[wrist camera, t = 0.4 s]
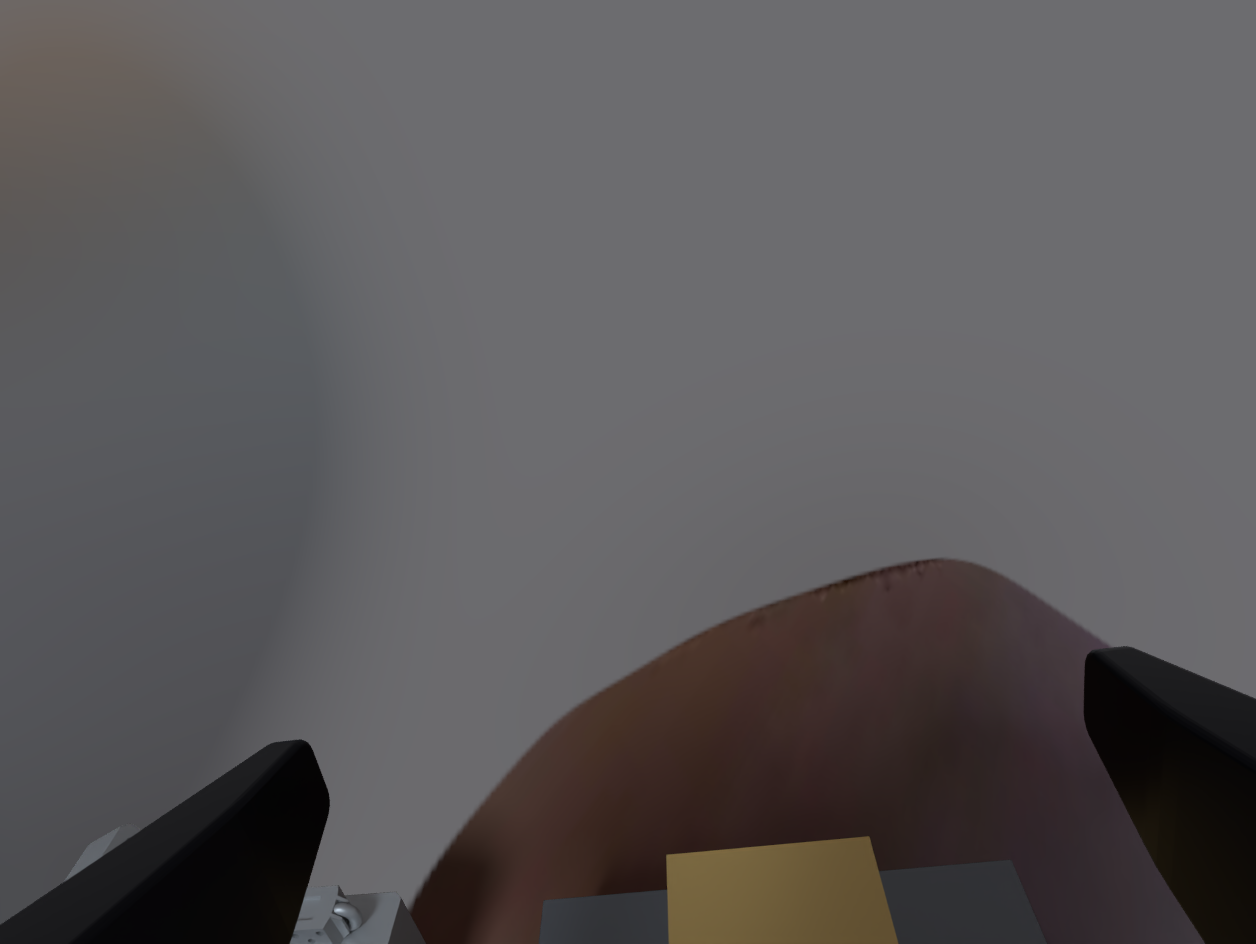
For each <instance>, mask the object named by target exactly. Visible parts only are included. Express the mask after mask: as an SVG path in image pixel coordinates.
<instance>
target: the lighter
mask: <svg viewBox="0 0 1256 944" xmlns="http://www.w3.org/2000/svg"><path fill="white" fill-rule="evenodd" d="M139 831H141V829H139V828H138V827H136V826H134V825H133V824H128V825H123V826H120V827H119V828H117V829H115V830H114V831H112V832H110V833H108V834H106V835H105V836H103V837H101V838H100V839H98V840H96V841H94V842H93V843H91V844H89V845H88V847H87V849H86V850H85V851H84V853H83V854H82V856H81V857H80V859H79V860H78V862H77V863H76V865H75V866H74V868H73V869H72V871H71V872H70V874H69V875H68V876H67V878H66V879H65V881H66V880H68V879H69V878H71V877H72V876H74V875H75V874H77V873H78V872H80V871H81V870H83V869H84V868H86V867H87V866H89V865H90V864H92V863H93V862H95V861H96V860H98V859H99V858H100V857H102V856H103V855H105V854H106V853H108V852H109V851H111V850H112V849H114V848H115V847H117V846H118V845H120V844H121V843H123V842H124V841H126V840H127V839H129V838H130V837H132V836H133V835H135V834H136V833H138V832H139ZM65 881H64V882H65ZM290 944H426V943H425V941H424V939H423V937H422V935H421V933H420V932H419V930H418V928H417V926H416V924H415V922H414V921H413V919H412V917H411V915H410V913H409V911H408V910H407V908H406V906H405V904H404V902H403V901H402V899H401V897H400V896H399V895H398V893H397V892H387V893H374V894H361V895H347V896H345V895H344V894H343V892H342V890H341V889H340V887H339V886H338V885H337V886H324V887H311V888H307V890H306V893H305V897H304V900H303V904H302V907H301V911H300V914H299V917H298V920H297V924H296V927H295V930H294V933H293V936H292V939H291V942H290Z"/></svg>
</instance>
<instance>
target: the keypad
mask: <svg viewBox="0 0 1256 944" xmlns="http://www.w3.org/2000/svg"><path fill="white" fill-rule="evenodd" d="M879 874H880V878H881V881H882V885H883V889H884V892H885V896H886V900H887V903H888V907H889V911H890V914H891V918H892V922H893V926H894V929H895V933H896V937H897V940H898V944H1047V942H1046V940H1045V937H1044V935H1043V933H1042V930H1041V928H1040V926H1039V923H1038V921H1037V919H1036V916H1035V914H1034V912H1033V909H1032V907H1031V905H1030V902H1029V900H1028V898H1027V895H1026V893H1025V891H1024V888H1023V886H1022V884H1021V881H1020V879H1019V877H1018V874H1017V872H1016V870H1015V868H1014V865H1013V863H1012V861H1011V860H1001V861H990V862H978V863H967V864H956V865H944V866H933V867H921V868H910V869H898V870H887V871H879ZM539 944H669V932H668V896H667V890H657V891H646V892H634V893H623V894H611V895H600V896H588V897H577V898H565V899H554V900H544V902H543V911H542V920H541V929H540V938H539Z"/></svg>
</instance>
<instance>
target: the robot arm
mask: <svg viewBox="0 0 1256 944" xmlns="http://www.w3.org/2000/svg"><path fill="white" fill-rule="evenodd" d="M1084 720H1085V724H1086V728H1087V731H1088V734H1089V736H1090V738H1091V740H1092V742H1093V744H1094V746H1095V748H1096V750H1097V752H1098V754H1099V756H1100V758H1101V760H1102V762H1103V764H1104V766H1105V768H1106V770H1107V772H1108V774H1109V776H1110V778H1111V780H1112V782H1113V784H1114V786H1115V788H1116V790H1117V792H1118V794H1119V795H1120V797H1121V799H1122V801H1123V803H1124V805H1125V807H1126V809H1127V811H1128V813H1129V815H1130V817H1131V819H1132V821H1133V823H1134V825H1135V827H1136V829H1137V831H1138V833H1139V835H1140V837H1141V839H1142V841H1143V843H1144V845H1145V847H1146V848H1147V850H1148V852H1149V854H1150V856H1151V858H1152V860H1153V861H1154V863H1155V865H1156V867H1157V868H1158V870H1159V872H1160V873H1161V875H1162V877H1163V878H1164V880H1165V881H1166V883H1167V885H1168V886H1169V888H1170V890H1171V891H1172V893H1173V894H1174V896H1175V897H1176V899H1177V900H1178V902H1179V904H1180V905H1181V907H1182V908H1183V910H1184V911H1185V913H1186V914H1187V916H1188V917H1189V919H1190V921H1191V922H1192V924H1193V925H1194V927H1195V928H1196V930H1197V931H1198V933H1199V934H1200V936H1201V938H1202V939H1203V941H1204V942H1205V944H1256V699H1255V698H1253V697H1250V696H1248V695H1245V694H1243V693H1240V692H1238V691H1236V690H1233V689H1231V688H1229V687H1226V686H1224V685H1221V684H1219V683H1217V682H1214V681H1212V680H1209V679H1207V678H1204V677H1202V676H1200V675H1197V674H1195V673H1193V672H1190V671H1188V670H1185V669H1183V668H1180V667H1178V666H1176V665H1173V664H1171V663H1168V662H1166V661H1164V660H1161V659H1159V658H1156V657H1154V656H1152V655H1149V654H1147V653H1145V652H1142V651H1140V650H1137V649H1135V648H1132V647H1127V646H1126V647H1125V646H1123V647H1114V648H1105V649H1097V650H1092V651H1091V652H1090V653H1089V654H1088V655H1087V657H1086V660H1085V676H1084ZM329 807H330V799H329V793H328V789H327V787H326V784H325V782H324V779H323V776H322V774H321V771H320V768H319V765H318V763H317V760H316V758H315V755H314V752H313V750H312V748H311V746H310V745H309V744H308V742H306V741H304V740H292V741H283V742H275V743H271V744H269V745H267V746H266V747H264V748H263V749H261V750H260V751H258V752H257V753H255V754H254V755H252V756H251V757H249V758H248V759H246V760H245V761H244V762H242V763H240V764H239V765H237V767H235V768H233V769H232V770H230V771H229V772H227V773H226V774H224V775H223V776H221V777H220V778H218V779H217V780H215V781H214V782H212V783H211V784H209V785H208V786H206V787H205V788H203V789H202V790H200V791H199V792H197V793H196V794H195V795H193V796H191V797H190V798H189V799H187V800H185V801H184V802H182V803H181V804H179V805H178V806H176V807H175V808H174V809H172V810H170V811H169V812H167V813H166V814H165V815H163V816H162V817H160V818H159V819H157V820H156V821H154V822H153V823H151V824H150V825H148V826H147V827H145V828H144V829H142V830H141V831H139V832H138V833H136V834H135V835H133V836H132V837H130V838H129V839H127V840H126V841H124V842H123V843H121V844H120V845H118V846H117V847H115V848H114V849H112V850H111V851H109V852H108V853H106V854H105V855H103V856H102V857H100V858H99V859H98V860H96V861H95V862H93V863H92V864H90V865H89V866H87V867H86V868H84V869H83V870H81V871H80V872H78V873H77V874H75V875H74V876H72V877H71V878H69V879H68V880H66V881H65V882H63V883H62V884H60V885H59V886H57V887H56V888H54V889H53V890H51V891H50V892H48V893H47V894H45V895H44V896H42V897H41V898H39V899H38V900H36V901H35V902H34V903H32V904H31V905H29V906H28V907H26V908H25V909H23V910H22V911H20V912H19V913H17V914H16V915H14V916H13V917H11V918H10V919H8V920H7V921H5V922H4V923H2V924H1V925H0V944H290V942H291V939H292V936H293V933H294V930H295V927H296V924H297V920H298V917H299V914H300V911H301V907H302V904H303V900H304V897H305V893H306V890H307V886H308V883H309V880H310V876H311V873H312V869H313V866H314V862H315V859H316V855H317V852H318V849H319V845H320V842H321V838H322V835H323V831H324V828H325V825H326V821H327V818H328V814H329Z"/></svg>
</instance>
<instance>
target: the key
mask: <svg viewBox="0 0 1256 944" xmlns="http://www.w3.org/2000/svg"><path fill="white" fill-rule="evenodd" d="M666 860H667V896H668V932H669V944H898V940H897V937H896V933H895V929H894V926H893V922H892V918H891V914H890V911H889V907H888V903H887V900H886V896H885V892H884V889H883V885H882V881H881V878H880V874H879V870H878V867H877V863H876V859H875V856H874V852H873V848H872V845H871V841H870V837H869V836H867V837H856V838H845V839H834V840H823V841H812V842H801V843H790V844H779V845H769V846H758V847H747V848H736V849H725V850H714V851H703V852H692V853H681V854H670V855H666Z"/></svg>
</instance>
